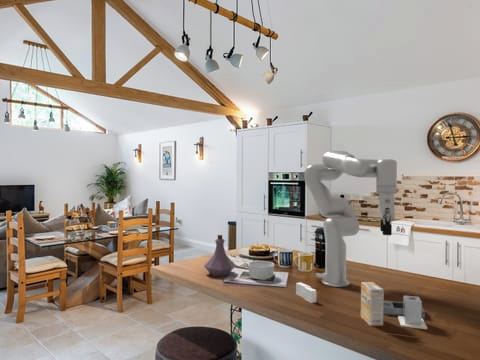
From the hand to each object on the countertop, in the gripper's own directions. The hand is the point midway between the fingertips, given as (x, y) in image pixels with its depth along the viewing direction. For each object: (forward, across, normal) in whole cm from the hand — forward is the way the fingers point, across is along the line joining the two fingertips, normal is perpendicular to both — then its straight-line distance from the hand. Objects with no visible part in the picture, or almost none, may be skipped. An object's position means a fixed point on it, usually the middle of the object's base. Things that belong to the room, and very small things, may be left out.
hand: (385, 233), depth 145 cm
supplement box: (+28, -21, +6) cm, 36 cm away
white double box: (+29, -4, +31) cm, 43 cm away
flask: (+28, +21, +78) cm, 86 cm away
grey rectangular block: (+27, -19, -7) cm, 34 cm away
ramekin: (+29, +21, +56) cm, 66 cm away
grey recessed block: (+28, -10, -5) cm, 30 cm away
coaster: (+28, -19, -7) cm, 35 cm away
